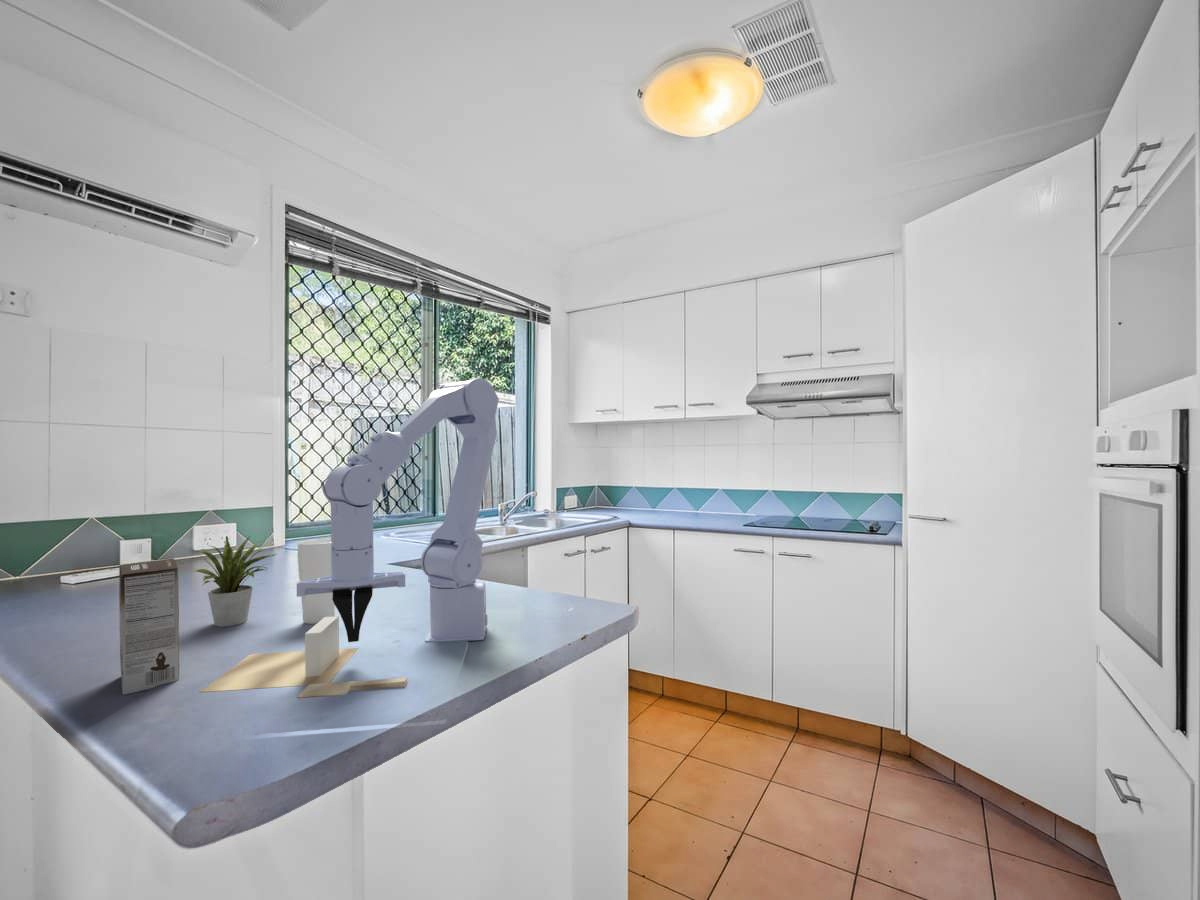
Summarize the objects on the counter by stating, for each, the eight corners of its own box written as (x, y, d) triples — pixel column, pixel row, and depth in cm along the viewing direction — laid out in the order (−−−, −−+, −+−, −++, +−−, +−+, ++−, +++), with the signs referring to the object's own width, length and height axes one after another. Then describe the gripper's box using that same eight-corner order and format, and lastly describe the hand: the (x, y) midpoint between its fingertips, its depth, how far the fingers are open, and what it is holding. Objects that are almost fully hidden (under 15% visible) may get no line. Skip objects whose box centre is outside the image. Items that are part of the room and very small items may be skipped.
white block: (339, 655, 87) (338, 616, 87) (320, 675, 79) (320, 632, 79) (324, 656, 86) (324, 617, 86) (304, 676, 79) (304, 633, 79)
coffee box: (119, 676, 81) (118, 563, 81) (175, 664, 85) (174, 557, 85) (121, 696, 74) (120, 573, 74) (181, 682, 78) (180, 566, 78)
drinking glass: (307, 616, 109) (306, 539, 109) (344, 615, 110) (343, 538, 110) (291, 627, 103) (290, 544, 103) (330, 626, 103) (329, 543, 103)
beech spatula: (409, 680, 78) (409, 673, 78) (403, 693, 74) (403, 685, 74) (308, 688, 76) (308, 681, 76) (297, 702, 72) (296, 694, 72)
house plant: (241, 636, 98) (240, 542, 98) (162, 637, 98) (161, 542, 98) (288, 613, 112) (287, 530, 112) (219, 613, 112) (218, 531, 112)
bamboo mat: (358, 650, 90) (358, 647, 90) (328, 686, 76) (328, 683, 76) (250, 656, 88) (250, 654, 88) (199, 695, 74) (199, 692, 74)
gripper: (403, 540, 90) (404, 625, 90) (300, 546, 84) (301, 637, 84) (405, 546, 83) (406, 639, 83) (294, 554, 78) (295, 653, 78)
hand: (353, 639), depth 83 cm, fingers closed
